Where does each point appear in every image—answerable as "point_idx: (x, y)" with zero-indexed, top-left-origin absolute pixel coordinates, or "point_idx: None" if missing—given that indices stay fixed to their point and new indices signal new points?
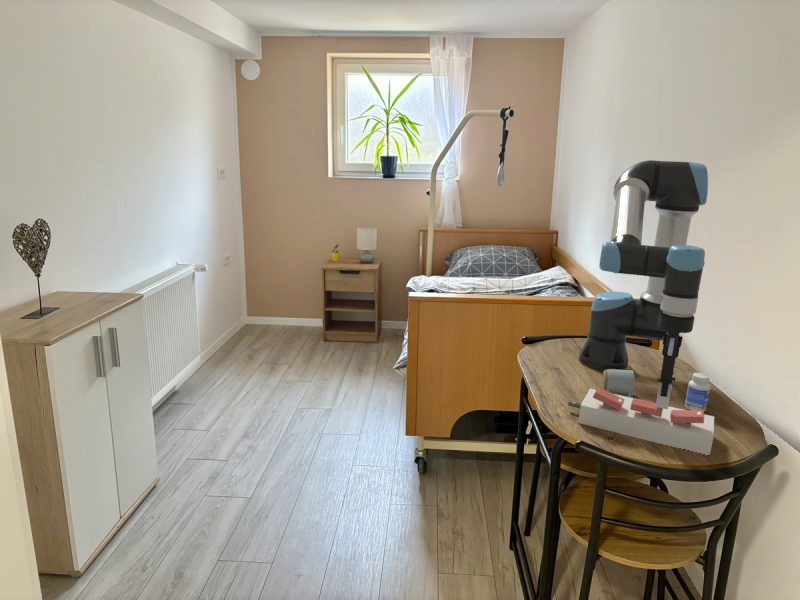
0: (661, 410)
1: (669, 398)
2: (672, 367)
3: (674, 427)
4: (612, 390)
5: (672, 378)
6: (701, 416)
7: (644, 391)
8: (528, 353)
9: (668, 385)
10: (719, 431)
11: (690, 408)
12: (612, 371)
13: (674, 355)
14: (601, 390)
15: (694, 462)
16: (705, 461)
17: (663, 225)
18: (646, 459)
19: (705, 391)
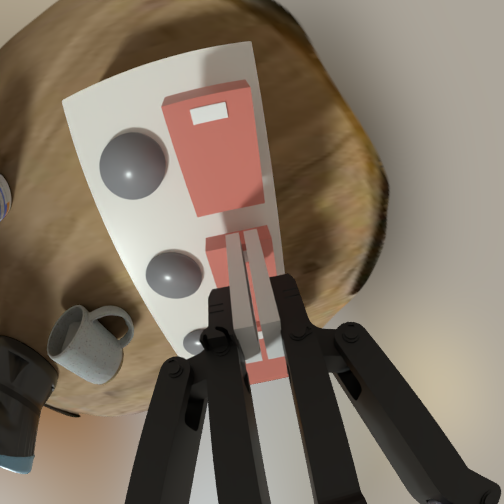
0: (267, 241)
1: (254, 259)
2: (429, 418)
3: (271, 168)
4: (114, 342)
5: (226, 347)
6: (247, 94)
7: (30, 295)
8: (107, 414)
9: (310, 322)
10: (54, 90)
11: (9, 198)
12: (96, 379)
13: (480, 477)
14: (261, 374)
15: (311, 79)
16: (284, 55)
17: None
18: (365, 181)
19: None
